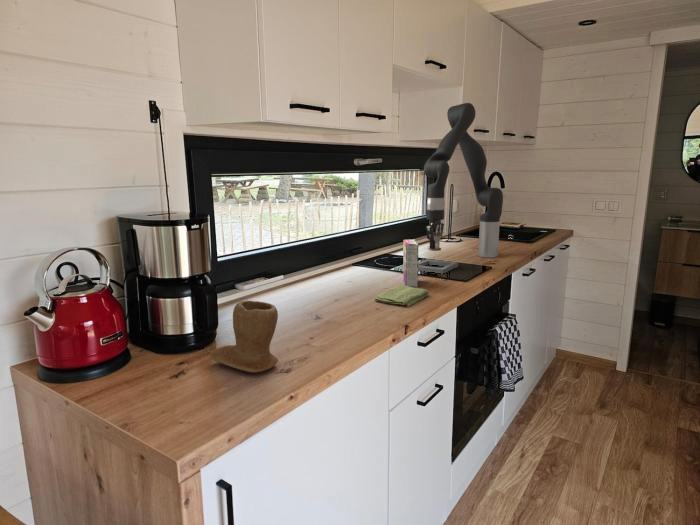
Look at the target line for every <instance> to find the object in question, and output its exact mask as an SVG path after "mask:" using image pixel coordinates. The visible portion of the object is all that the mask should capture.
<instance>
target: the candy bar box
mask: <svg viewBox="0 0 700 525" xmlns="http://www.w3.org/2000/svg"><path fill="white" fill-rule="evenodd" d="M402 243H403V247H402V248H403V250H402V251H403V253H402V254H403V256H402V257H403V259H402V260H403V266H402V268H403V270H402V272H403V281H404V284H405V286H409V287H413V288H415V287H416V288H419V271H418V263H419V243H418V241H417V240H416V239H414V238H413V239H410V238H409V239H403V242H402Z"/></svg>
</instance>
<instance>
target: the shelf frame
mask: <svg viewBox="0 0 700 525" xmlns="http://www.w3.org/2000/svg"><path fill="white" fill-rule="evenodd" d="M428 264H429V265H428ZM425 265H427V266H425ZM432 265H439V266H432ZM441 266H444V267H441ZM458 267H459V262H457V261H448V260H440V259H439V260H438V259H429V258H426V259H424V260H421V261H418V272H419V271H425V272H424V273H427V272H435V273H441V274H440V275H444V274H443V273H445V274H446V272H447V273H449V272H450V270H451V271H453V270H455V269H456V268H458ZM454 268H455V269H454ZM452 269H453V270H452ZM448 271H449V272H448ZM435 273H434V274H435Z"/></svg>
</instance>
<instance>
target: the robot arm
mask: <svg viewBox="0 0 700 525" xmlns="http://www.w3.org/2000/svg"><path fill="white" fill-rule="evenodd" d="M475 108H476V107H475V106H474V105H473V104H472V103H470V102H464V103H459V104H456V105H452V106H450V107H449V108H448V110H447V114H446V115H447V121H448V124H449V126H450V128H451V129H450V130H449V132H447V133H446V134H445V136H443V138H442V139H441V140H440V142H439V144H438V146H437V148H436V150H435V151H434V152H433V154H432V155H431V156H430V157H429V158H428V159H427V160H426V161H425V163H424V166H423V173H424V176H425V177H427V178H433V179H434V178H437V179H436V181H435V182H432V183H430V184H428V186H427V200H426V217H425V218H426V220H427V221H428V220H429V221H428V222H429V224H428V225H426V226H425V231H426V239H427V240H429V247H430V249H435V237H436V236H435V235H437V233H441V236H440V239H442V238H441V237H443V234H444V233H443V232H444V226H445V223H444V222H442V221H444V220H445V205H446V204H445V203H446V202H445V189H446V188H445V187H446V184H447V180H448V177H449V174H450V164H449V161H450V160H451V159H452V157H453V155H454V152H455V150H456V148H457V145H459V148H460V151H461V153H462V156H463V158H464V162H465V165H466V166H467V169H468V172H469V175H470V178H471V181H472V184H473V188H474V193H475V197H476V201H477V202H478V204H479V205H480V206H482V207H484V208H486V207H487V209H486V212H484V213H483V214H480V216H479V234H478V253H477V254H478V257H481V258H488V259H489V258H498V256H499V241H500V238H499V237H500V224H501V223H500V219H501V216H502V212H503V203H504V194H503V190H502V189H500V188H499V187H489V185H488V183H487V179H486V170H487V165H488V160H487V156H486V154H485V151H484V148H483V146H482V145H481V144H480V143H479V142H478V141H477V140H476V139H474V138H473V137H472V136H471V135H470V134H469V133H468V129H469V128H470V126H471V125H472V124H473V122H474V120H475V119H476V109H475ZM433 235H434V236H433ZM439 247H440V245H439Z"/></svg>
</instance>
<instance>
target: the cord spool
mask: <svg viewBox="0 0 700 525" xmlns="http://www.w3.org/2000/svg"><path fill="white" fill-rule="evenodd" d="M433 236H434V235H433ZM435 236H436V237H435V249H430V246H429V247H427V250H428V251H432V252H435V251H436V252H437V251H438V252H439V251H441V250H442V248H441V247H440V246H439V245H440V244H441V243H440V242H441V240H440V239H441V238H440V236H441V233H437V235H435Z"/></svg>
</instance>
